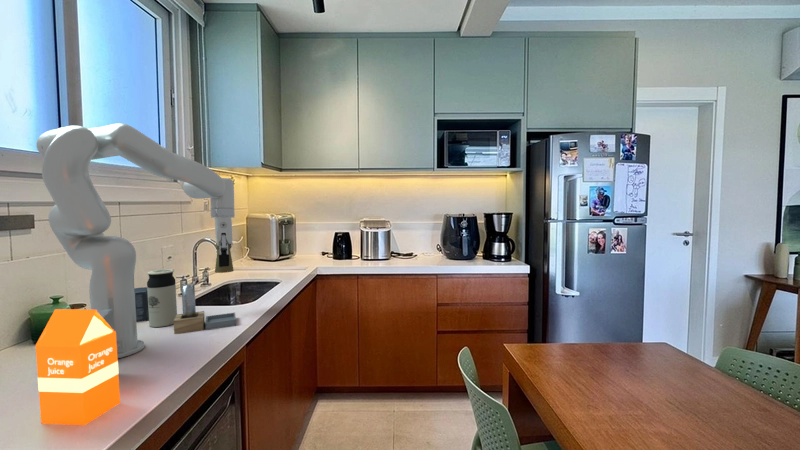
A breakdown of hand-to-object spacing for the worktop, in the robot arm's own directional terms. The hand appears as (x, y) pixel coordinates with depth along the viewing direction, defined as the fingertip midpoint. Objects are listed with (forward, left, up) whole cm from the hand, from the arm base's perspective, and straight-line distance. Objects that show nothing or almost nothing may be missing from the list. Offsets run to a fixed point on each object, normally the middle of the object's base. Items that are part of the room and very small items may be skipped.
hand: (224, 265), depth 130 cm
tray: (-8, +2, -19) cm, 20 cm away
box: (+13, +27, -19) cm, 35 cm away
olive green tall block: (0, 0, -2) cm, 2 cm away
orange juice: (-55, +25, -19) cm, 63 cm away
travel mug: (+2, +19, -19) cm, 27 cm away
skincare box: (-41, +27, -19) cm, 53 cm away
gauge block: (-8, +11, -19) cm, 23 cm away
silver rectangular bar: (-8, +11, -19) cm, 23 cm away
